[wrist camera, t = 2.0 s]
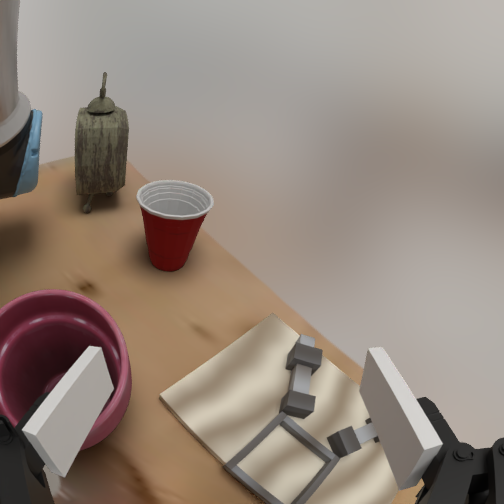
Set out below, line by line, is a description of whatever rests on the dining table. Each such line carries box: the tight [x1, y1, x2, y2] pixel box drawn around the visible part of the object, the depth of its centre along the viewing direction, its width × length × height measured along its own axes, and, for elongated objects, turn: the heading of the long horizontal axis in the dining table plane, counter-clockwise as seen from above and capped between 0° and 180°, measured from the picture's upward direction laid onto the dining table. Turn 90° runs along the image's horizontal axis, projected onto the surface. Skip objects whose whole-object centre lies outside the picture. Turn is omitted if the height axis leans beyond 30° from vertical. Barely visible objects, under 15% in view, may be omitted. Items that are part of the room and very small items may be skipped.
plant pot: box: [0, 289, 132, 451], centre depth 22 cm, size 14×14×13 cm
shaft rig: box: [159, 313, 399, 504], centre depth 30 cm, size 30×21×4 cm
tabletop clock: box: [75, 72, 129, 213], centre depth 47 cm, size 14×9×25 cm, turn 26°
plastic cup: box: [136, 180, 214, 271], centre depth 44 cm, size 11×11×12 cm
